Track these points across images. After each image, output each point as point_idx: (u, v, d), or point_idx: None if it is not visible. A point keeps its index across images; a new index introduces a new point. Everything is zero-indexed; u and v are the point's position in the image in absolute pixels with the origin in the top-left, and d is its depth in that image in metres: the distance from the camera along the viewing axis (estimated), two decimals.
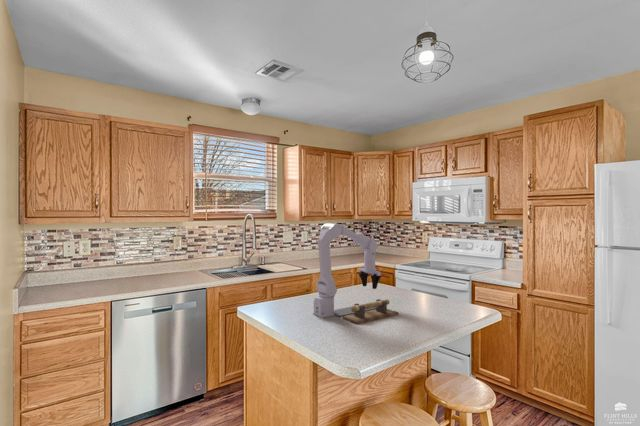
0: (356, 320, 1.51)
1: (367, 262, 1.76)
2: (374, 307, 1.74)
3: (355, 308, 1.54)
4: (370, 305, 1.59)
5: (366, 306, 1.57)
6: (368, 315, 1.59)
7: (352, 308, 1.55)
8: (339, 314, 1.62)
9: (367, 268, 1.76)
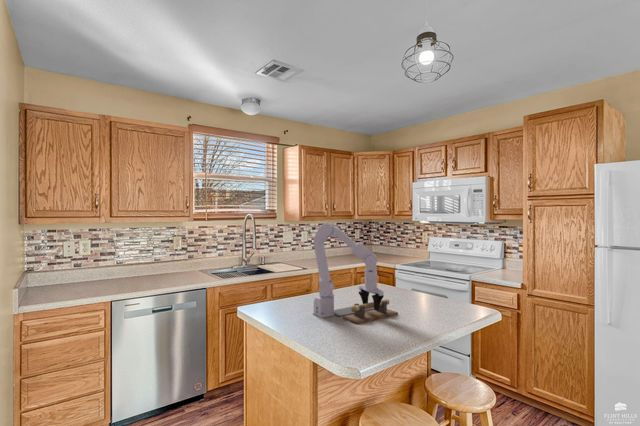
0: (356, 320, 1.51)
1: (368, 280, 1.58)
2: None
3: (355, 308, 1.54)
4: (370, 305, 1.59)
5: (366, 306, 1.57)
6: (368, 315, 1.59)
7: (352, 308, 1.55)
8: (339, 314, 1.62)
9: (368, 287, 1.58)
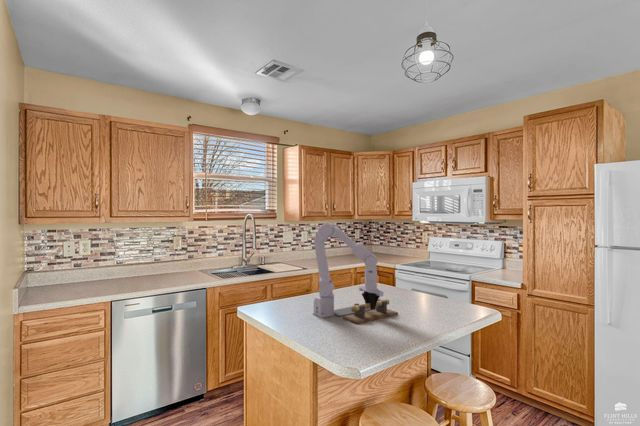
0: (356, 320, 1.51)
1: (368, 281, 1.58)
2: None
3: (355, 308, 1.54)
4: None
5: (366, 306, 1.57)
6: (368, 315, 1.59)
7: (352, 308, 1.55)
8: (339, 314, 1.62)
9: (368, 287, 1.58)
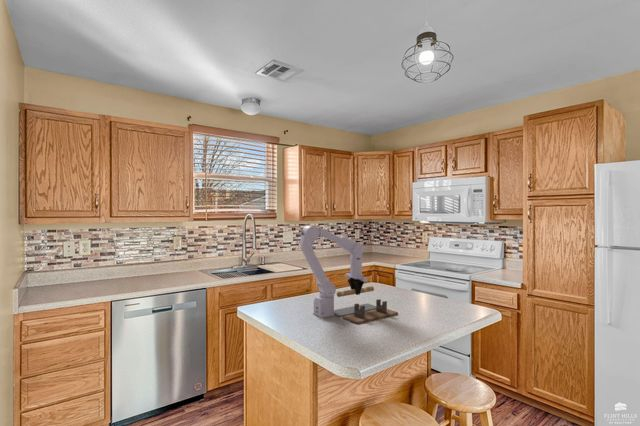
0: (356, 320, 1.51)
1: (353, 267, 1.67)
2: (374, 307, 1.74)
3: (340, 293, 1.63)
4: None
5: (351, 291, 1.66)
6: (368, 315, 1.59)
7: (337, 293, 1.63)
8: (339, 314, 1.62)
9: (353, 274, 1.67)
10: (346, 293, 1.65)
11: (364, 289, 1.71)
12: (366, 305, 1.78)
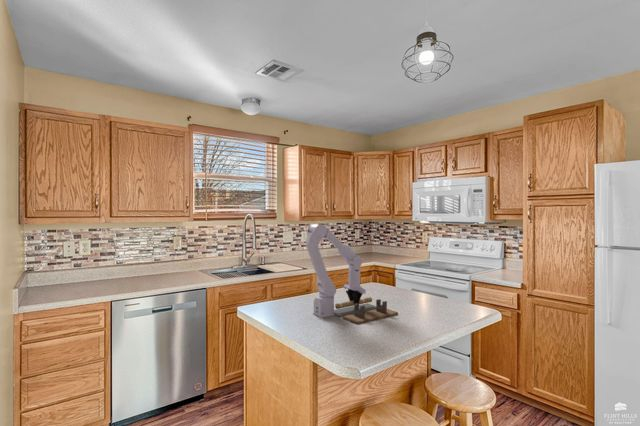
0: (356, 320, 1.51)
1: (351, 279, 1.68)
2: (374, 307, 1.74)
3: (339, 305, 1.64)
4: (353, 302, 1.69)
5: (349, 303, 1.67)
6: (368, 315, 1.59)
7: (336, 305, 1.64)
8: (339, 314, 1.62)
9: (351, 285, 1.68)
10: (345, 305, 1.66)
11: (362, 300, 1.72)
12: (366, 305, 1.78)
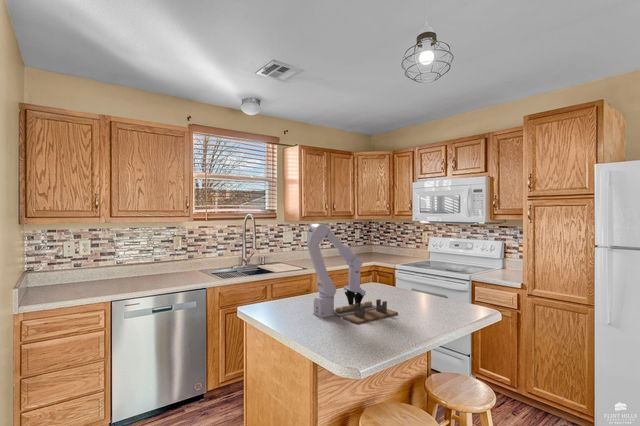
0: (356, 320, 1.51)
1: (351, 280, 1.68)
2: (374, 307, 1.74)
3: (339, 309, 1.64)
4: (353, 306, 1.69)
5: (349, 307, 1.67)
6: (368, 315, 1.59)
7: (336, 309, 1.64)
8: (339, 314, 1.62)
9: (351, 287, 1.68)
10: (345, 309, 1.66)
11: (362, 304, 1.72)
12: None
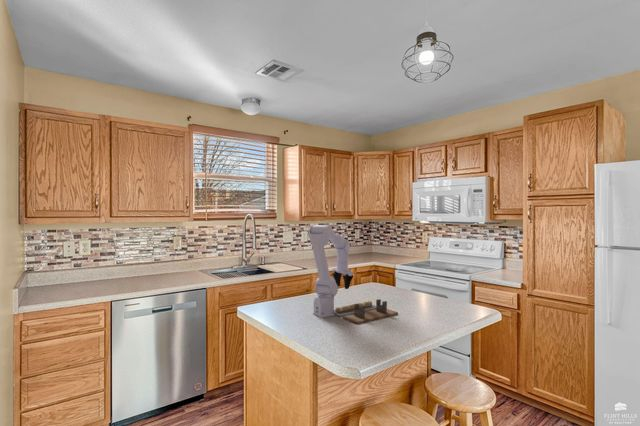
0: (356, 320, 1.51)
1: (339, 262, 1.78)
2: (374, 307, 1.74)
3: (339, 309, 1.64)
4: (353, 306, 1.69)
5: (349, 307, 1.67)
6: (368, 315, 1.59)
7: (336, 309, 1.64)
8: (339, 314, 1.62)
9: (339, 268, 1.78)
10: (345, 309, 1.66)
11: (362, 304, 1.72)
12: None
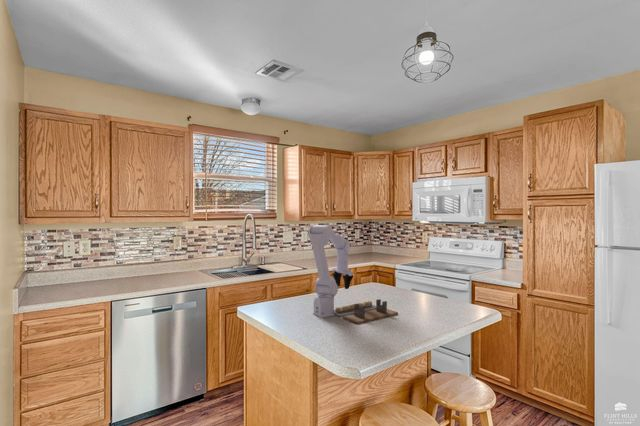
0: (356, 320, 1.51)
1: (339, 262, 1.78)
2: (374, 307, 1.74)
3: (339, 309, 1.64)
4: (353, 306, 1.69)
5: (349, 307, 1.67)
6: (368, 315, 1.59)
7: (336, 309, 1.64)
8: (339, 314, 1.62)
9: (339, 268, 1.78)
10: (345, 309, 1.66)
11: (362, 304, 1.72)
12: None
